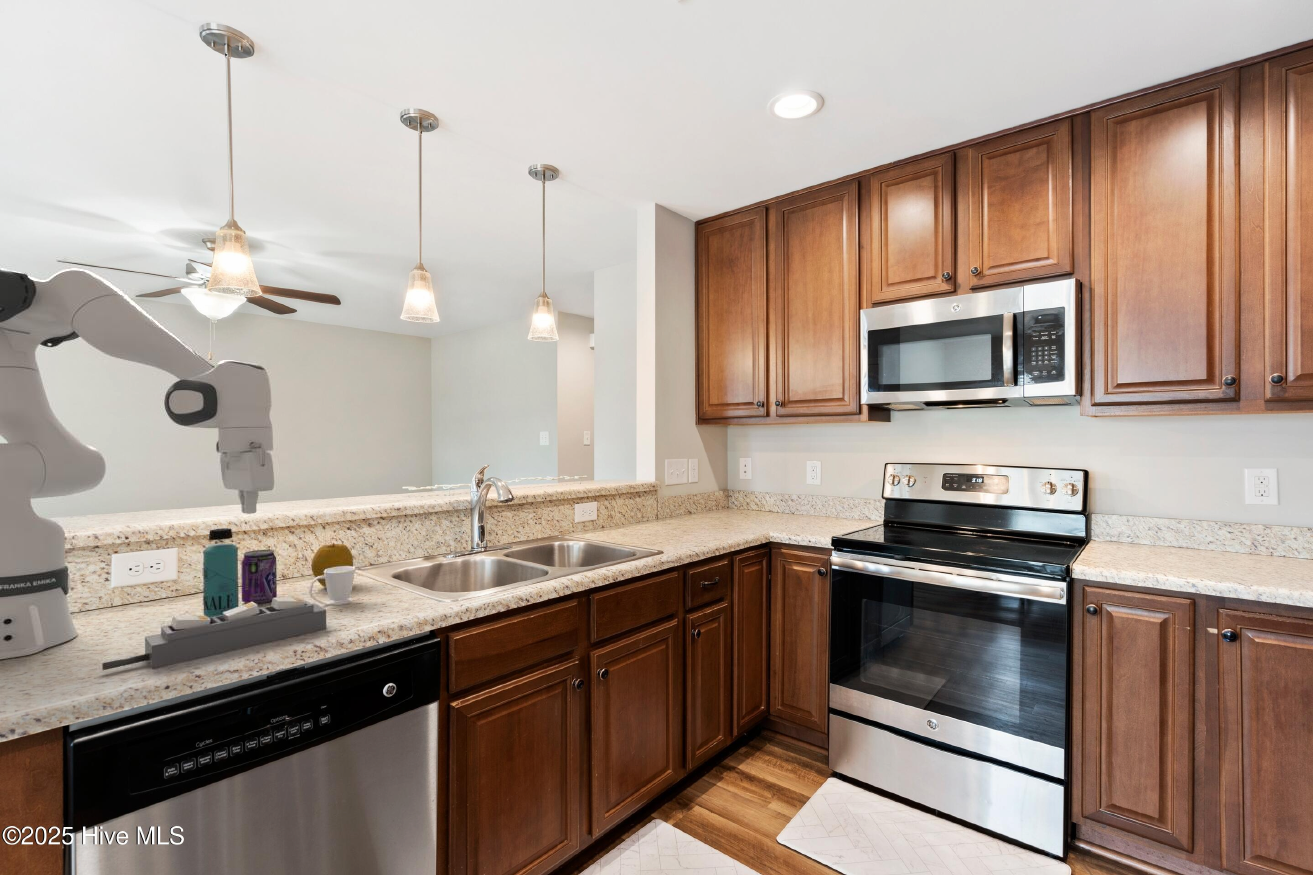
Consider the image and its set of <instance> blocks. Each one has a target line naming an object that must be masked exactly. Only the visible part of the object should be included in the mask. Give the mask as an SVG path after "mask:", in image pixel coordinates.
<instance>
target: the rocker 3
mask: <svg viewBox="0 0 1313 875" xmlns="http://www.w3.org/2000/svg"><path fill="white" fill-rule="evenodd" d="M304 600H305V599H302V598H300V597H275V598H273V599H272V600H271V605H270V606H272V607H273V608H275V609H290V608H296V607H301V606H305V602H306V601H307V600H305V601H304Z"/></svg>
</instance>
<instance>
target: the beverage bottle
mask: <svg viewBox="0 0 1313 875" xmlns="http://www.w3.org/2000/svg"><path fill="white" fill-rule="evenodd" d="M232 538H233V532H232V528H225V527H224V528H222V527H221V528H215V529H210V531H209V535H208V540H209V541H221V540H222V541H223V540H228V539H232ZM202 553H203V558H202V559H203V562H202V566H203V567H202V581H203V583H202V585H203V590H202V592H203V593H202V601H203V602H202V605H203V609H202V613H203V616H207V617H208V618H209V617H214V616H220V615H223V612H225V611H228V610H231V609H234V608H236V607H239V606H240V603H239V602H240V598H239V548H238V546H237V545H235V544H234V543H233V542H220V543H214V544H210V545H208V546H206V547H205V549H204V550H203V551H202Z"/></svg>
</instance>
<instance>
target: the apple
mask: <svg viewBox="0 0 1313 875" xmlns="http://www.w3.org/2000/svg"><path fill="white" fill-rule="evenodd" d="M353 557H354V556H353V553H352V551H351V550H350V548H349V547H348V546H347V545H345V544H341V543H334V542H333V543H331V544H330V543H329V544H325V545H322V546H320V547H319V548H318V549H317V551H316V552H315V553H314V555H313V558H312V560H311V563H310V565H311V567H310V568H311V571H312V574H313V576H314V579H315V578H316V577H319V576H324V571H325V569H329V568H333V567H341V566H351V567H354V558H353ZM316 582H318V584H320V585H321V586H322V587H325V588H326V582H325V579H317V580H316Z"/></svg>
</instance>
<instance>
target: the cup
mask: <svg viewBox="0 0 1313 875" xmlns="http://www.w3.org/2000/svg"><path fill="white" fill-rule="evenodd" d="M355 572H356V566H353V567H351V566H341V567H333V568H329V569H325V571H324V576H319V577H316V578H315V577H314V579H313V580H312V581H311V582H310V586H309V591H308V593H309V595H310V598H312V599H313V600H314V601H316V603H317V602H318V603H319V604H322V605H325V606H341V605H346V604H349V603H350V602H351V599H350V598H351V594H352V590H353V585H354V578H355ZM317 579H325V582H326V587H325V588H326V592H327V594H328V595H327V596H328V599H329V600H330V602H323V601H321V600H319V599H316V597H314V595H313V593H312V592H313V586H314V584H315V582H317Z"/></svg>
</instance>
